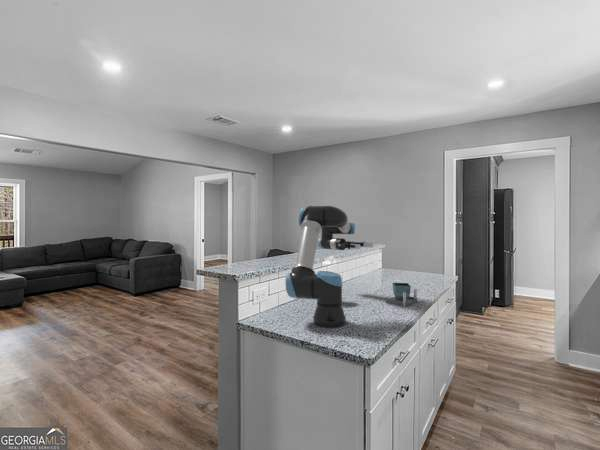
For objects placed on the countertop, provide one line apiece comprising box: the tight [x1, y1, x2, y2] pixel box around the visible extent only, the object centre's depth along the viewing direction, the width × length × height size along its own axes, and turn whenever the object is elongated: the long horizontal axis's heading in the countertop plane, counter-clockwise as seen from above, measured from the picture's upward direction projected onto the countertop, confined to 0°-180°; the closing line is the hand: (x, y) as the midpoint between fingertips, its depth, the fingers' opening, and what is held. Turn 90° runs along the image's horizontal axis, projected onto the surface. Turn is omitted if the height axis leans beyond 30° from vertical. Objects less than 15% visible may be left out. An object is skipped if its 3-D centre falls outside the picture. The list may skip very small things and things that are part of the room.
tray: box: [385, 288, 418, 307], centre depth 186 cm, size 15×12×8 cm
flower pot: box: [392, 282, 412, 301], centre depth 186 cm, size 9×9×9 cm
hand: (366, 245), depth 195 cm, fingers open, 13 cm apart
